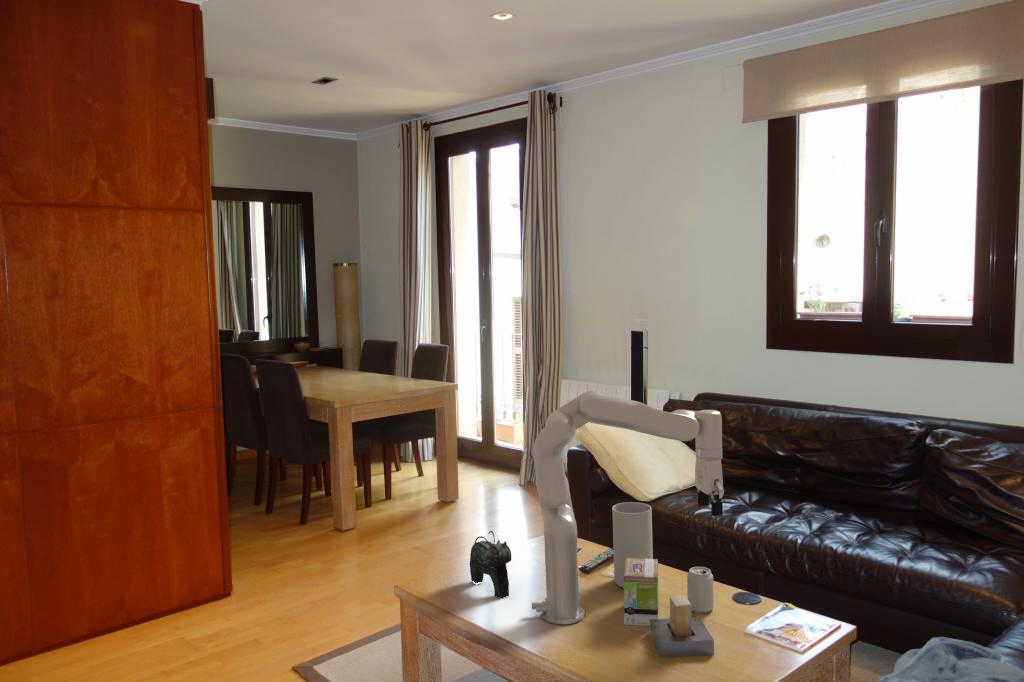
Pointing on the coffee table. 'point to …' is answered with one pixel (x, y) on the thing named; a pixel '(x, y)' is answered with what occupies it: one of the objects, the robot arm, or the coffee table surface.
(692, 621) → the holder
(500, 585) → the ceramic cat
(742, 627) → the coffee table surface
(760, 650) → the coffee table surface
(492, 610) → the coffee table surface
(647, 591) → the tea box
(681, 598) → the skincare box
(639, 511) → the cylinder vase
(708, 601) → the can
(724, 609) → the coffee table surface
